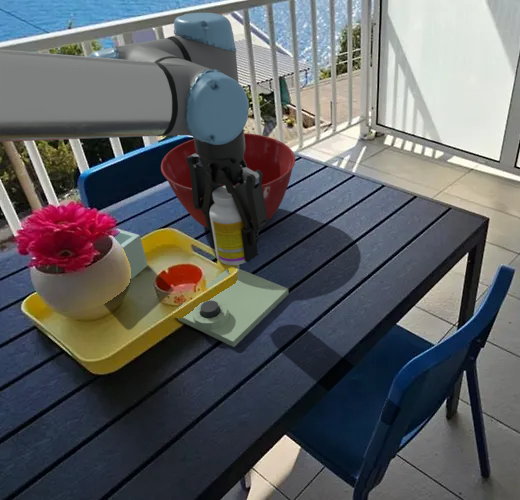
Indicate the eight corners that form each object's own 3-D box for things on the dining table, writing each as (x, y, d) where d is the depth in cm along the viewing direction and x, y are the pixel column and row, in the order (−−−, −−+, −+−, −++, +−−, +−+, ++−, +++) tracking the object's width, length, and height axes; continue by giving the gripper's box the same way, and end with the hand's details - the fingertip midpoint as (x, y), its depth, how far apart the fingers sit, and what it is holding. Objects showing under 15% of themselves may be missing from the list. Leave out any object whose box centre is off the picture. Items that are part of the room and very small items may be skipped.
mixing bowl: (322, 213, 120) (321, 154, 111) (233, 271, 101) (223, 205, 92) (240, 178, 133) (234, 123, 124) (148, 223, 115) (132, 162, 106)
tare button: (211, 320, 86) (209, 314, 85) (198, 314, 87) (196, 308, 86) (222, 310, 88) (221, 304, 87) (210, 304, 89) (208, 298, 88)
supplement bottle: (259, 261, 87) (252, 197, 80) (221, 270, 85) (211, 205, 78) (249, 241, 92) (241, 179, 85) (213, 249, 90) (202, 186, 82)
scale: (232, 349, 84) (230, 336, 82) (171, 319, 90) (168, 307, 88) (288, 294, 96) (287, 282, 94) (232, 270, 101) (230, 259, 99)
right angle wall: (102, 251, 106) (92, 221, 101) (148, 265, 102) (139, 235, 98) (55, 284, 97) (42, 253, 92) (104, 301, 93) (92, 269, 89)
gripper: (286, 133, 74) (293, 257, 87) (187, 107, 81) (207, 225, 95) (254, 151, 68) (266, 281, 82) (151, 122, 76) (178, 245, 89)
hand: (235, 251), depth 88 cm, fingers closed on supplement bottle, 7 cm apart
